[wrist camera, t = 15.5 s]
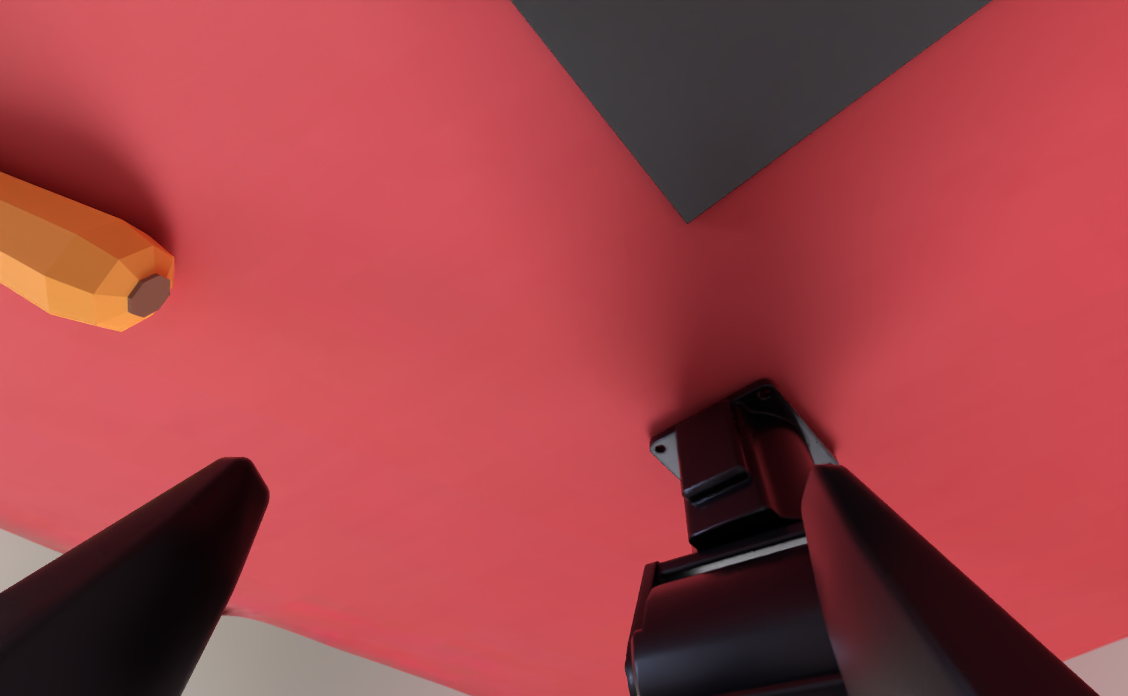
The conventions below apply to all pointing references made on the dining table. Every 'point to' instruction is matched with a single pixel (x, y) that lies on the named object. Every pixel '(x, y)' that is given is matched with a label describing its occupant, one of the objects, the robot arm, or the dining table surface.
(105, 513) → the dining table surface
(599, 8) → the mat
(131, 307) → the carrot
